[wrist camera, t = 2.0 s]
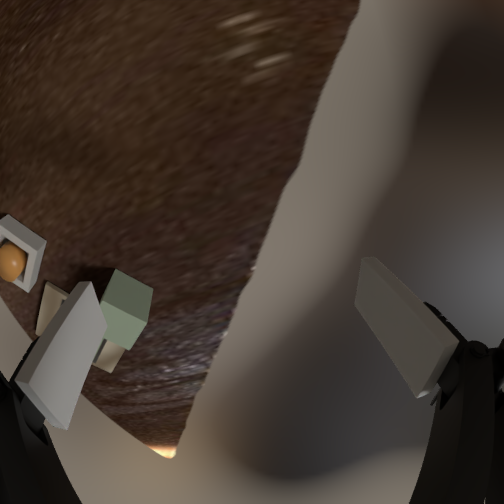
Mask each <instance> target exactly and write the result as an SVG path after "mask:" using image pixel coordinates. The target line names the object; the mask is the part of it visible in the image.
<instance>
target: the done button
mask: <svg viewBox="0 0 504 504" xmlns="http://www.w3.org/2000/svg"><path fill="white" fill-rule="evenodd" d="M26 265H27V256H26V253H25V251H24V250H23V249H22V248H20V247H19V246H17V245H16V244H15V243H13V242H12V241H7V242H6V243H5V244H4V245H3V246H2V247H1V248H0V276H1V277H2V278H3V279H4V280H6V281H8V282H13V281H15V280H16V278H17V277H18V276H19V275H20V274H21V272H22V271H23V270H24V269H25V267H26Z"/></svg>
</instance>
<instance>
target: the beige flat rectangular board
mask: <svg viewBox="0 0 504 504" xmlns="http://www.w3.org/2000/svg"><path fill="white" fill-rule="evenodd" d="M68 296H69V294H68V293H66V292H65V291H63V290H61V289H60V288H58V287H56V286H55V285H53V284H52V283H50V282H47V283H46V285H45V289H44V294H43V298H42V302H41V307H40V312H39V317H38V322H37V328H36V335H38V336H41V335H42V333H43V332H44V330H45V329H46V327H47V326H48V324H49V323H50V321H51V320H52V318H53V317H54V315H55V314H56V312H57V311H58V310H59V308H60V307H61V305H62V304H63V303H64V301H65V300H66V299H67V297H68ZM125 349H126V348H123V347H121V346H119V345H117V344H115V343H113V342H111V341H108V340H106V339H104V338H102V340H101V342H100V345H99V347H98V349H97V352H96V354H95V356H94V359H93V361H92V363H91V364H92V365H95V366H97V367H99V368H101V369H103V370H106V371H108V372H110V373H111V372H112V371H113V369H114V367H115V365H116V364H117V362H118V360H119V359H120V357H121V355H122V354H123V352H124V350H125Z"/></svg>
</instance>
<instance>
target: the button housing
mask: <svg viewBox="0 0 504 504" xmlns="http://www.w3.org/2000/svg"><path fill="white" fill-rule="evenodd" d="M7 241H12V242H13V243H15V244H16V245H17V246H19V247H20V248H22V249H23V250H24V251H25V253H26V256H27V265H26V267H25V269H24V270H23V271H22V272H21V274H20V275H19V276H18V277H17V278H16V280H15V281H13V283H15V284H16V285H17V286H19V287H20V288H22V289H23V290H25V291H26V292H28V293H29V291H30V290H31V288H32V287H33V285H34V284H35V283H36V280H37V276H38V272H39V268H40V264H41V260H42V256H43V253H44V249H45V246H46V242H47V241H46V240H44V239H43V238H41V237H40V236H38V235H37V234H35V233H34V232H32V231H31V230H30V229H28V228H27V227H25V226H24V225H22V224H21V223H20V222H18V221H17V220H15V219H14V218H13V217H11V216H10V215H9V214H8V215H6V216H5V217H4V218H2V219H1V220H0V248H1V247H2V246H3V245H4V244H5V243H6V242H7Z"/></svg>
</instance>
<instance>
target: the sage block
mask: <svg viewBox="0 0 504 504" xmlns="http://www.w3.org/2000/svg"><path fill="white" fill-rule="evenodd" d="M152 293H153V288H151V287H149V286H147V285H145V284H143V283H141V282H139V281H137V280H136V279H134V278H132V277H130V276H128V275H126V274H125V273H123V272H121V271H119V270H117V269H115V271H114V273H113V275H112V277H111V279H110V281H109V283H108V285H107V287H106V290H105V292H104V294H103V296H102V298H101V301H100V303H99V305H100V307H101V310H102V313H103V315H104V318H105V321H106V323H107V326H108V327H107V329H106V331H105V333H104V336H103V338H104V339H106V340H108V341H111V342H113V343H115V344H117V345H119V346H121V347H123V348H126V349H128V350H130V349H131V347H132V346H133V344H134V342H135V341H136V339H137V338H138V336H139V335H140V333H141V332H142V330H143V328H144V327H145V325H146V324H147V321H148V315H149V309H150V304H151V299H152Z"/></svg>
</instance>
